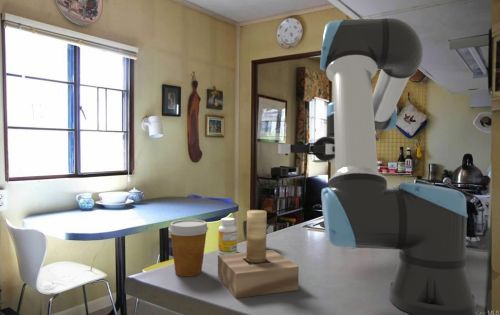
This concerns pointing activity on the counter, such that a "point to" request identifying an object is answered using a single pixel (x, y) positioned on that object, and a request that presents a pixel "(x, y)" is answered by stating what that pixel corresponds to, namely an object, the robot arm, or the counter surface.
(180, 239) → the disposable coffee cup
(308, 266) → the counter surface
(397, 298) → the robot arm
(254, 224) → the leg
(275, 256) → the seat block
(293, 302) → the counter surface
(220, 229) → the supplement bottle
